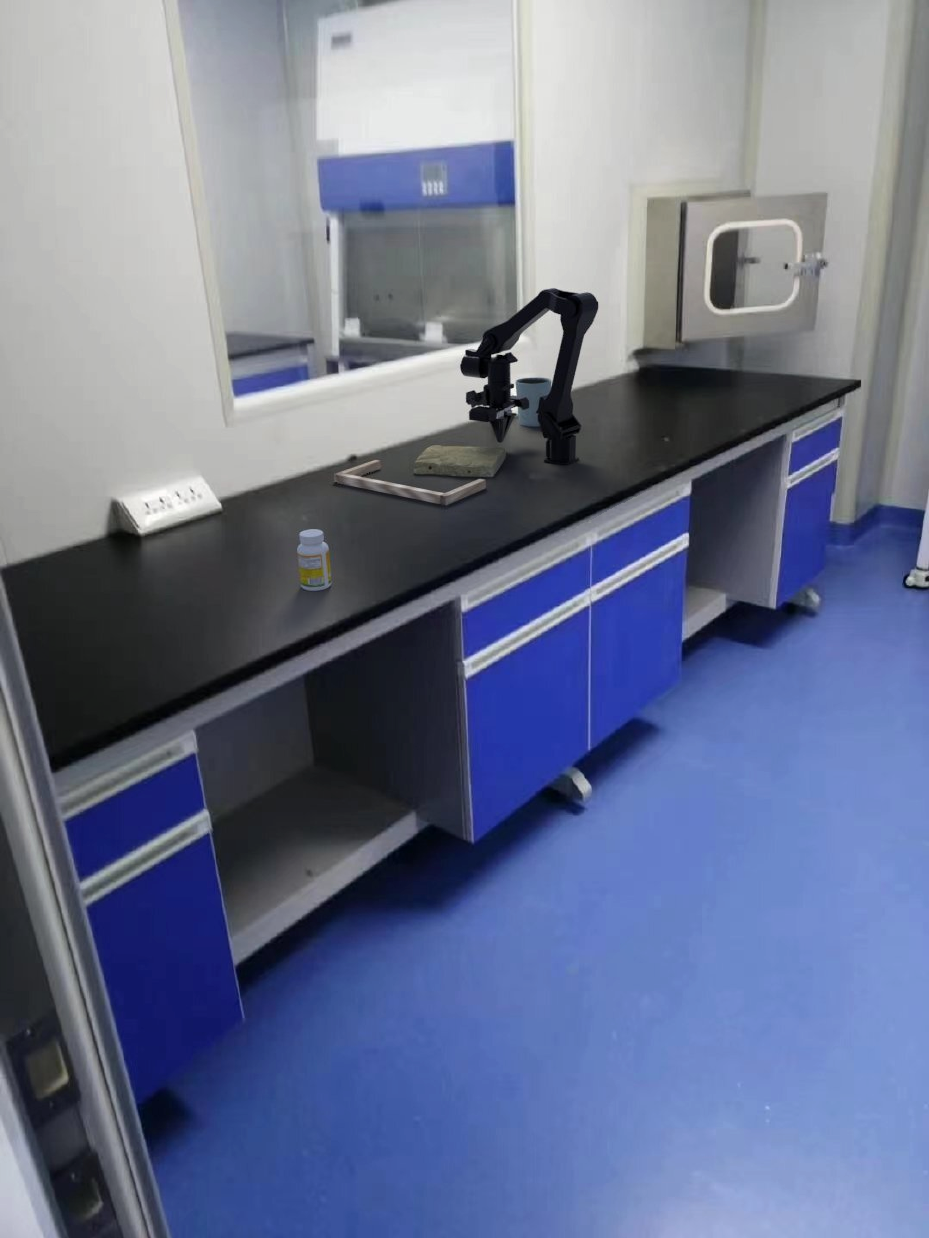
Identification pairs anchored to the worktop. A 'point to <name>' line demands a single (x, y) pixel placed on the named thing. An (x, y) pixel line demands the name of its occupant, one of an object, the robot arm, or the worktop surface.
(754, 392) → the worktop surface
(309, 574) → the supplement bottle
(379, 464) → the frame
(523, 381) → the light blue cup
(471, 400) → the robot arm
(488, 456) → the decorative tile
